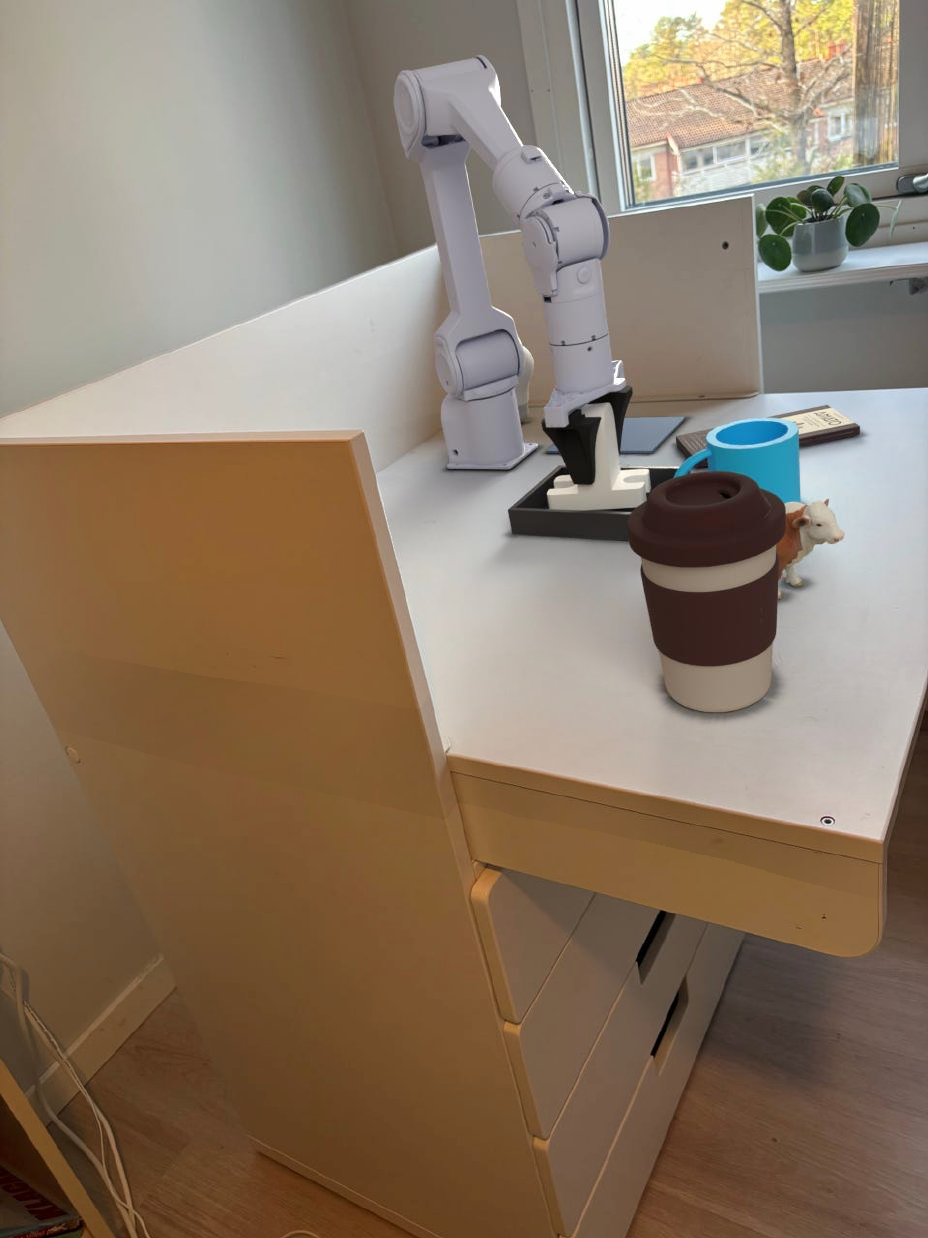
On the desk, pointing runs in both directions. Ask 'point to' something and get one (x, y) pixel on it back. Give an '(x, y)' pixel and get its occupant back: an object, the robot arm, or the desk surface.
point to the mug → (755, 454)
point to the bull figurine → (804, 535)
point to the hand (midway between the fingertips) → (596, 471)
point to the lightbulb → (524, 386)
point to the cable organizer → (602, 474)
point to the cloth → (643, 433)
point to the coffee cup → (711, 585)
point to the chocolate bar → (811, 422)
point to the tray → (576, 511)
